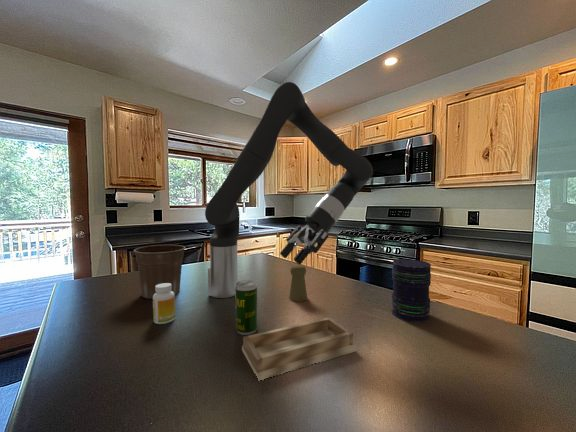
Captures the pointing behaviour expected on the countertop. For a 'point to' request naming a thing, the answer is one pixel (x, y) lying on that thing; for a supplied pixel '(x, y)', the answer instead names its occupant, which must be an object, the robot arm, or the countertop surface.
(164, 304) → the supplement bottle
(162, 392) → the countertop surface
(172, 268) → the plant pot
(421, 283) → the storage jar
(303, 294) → the cork
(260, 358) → the wooden rimmed tray
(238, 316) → the beer can
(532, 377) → the countertop surface
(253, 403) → the countertop surface
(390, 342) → the countertop surface
